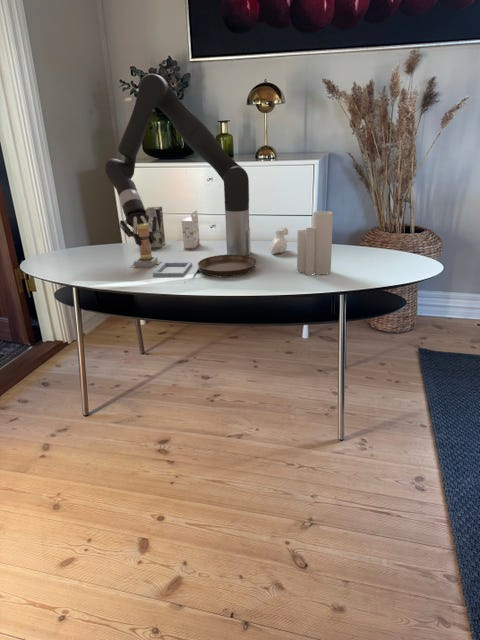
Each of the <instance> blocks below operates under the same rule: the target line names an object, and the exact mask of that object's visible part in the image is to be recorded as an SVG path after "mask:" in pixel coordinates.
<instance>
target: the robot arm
mask: <svg viewBox="0 0 480 640" xmlns="http://www.w3.org/2000/svg"><path fill="white" fill-rule="evenodd" d="M136 95H137V96H136V97H135V98H136V100H135V103H134V107H133V109H132V110H133V111H132V112H131V115H130V119H129V120H128V123H127V125H126V128H125V130H124V132H123V134H122V137H121V138H120V139H121V140H120V143H119V145H118V147H117V151H118V153H119V154H121V156H124V159H123V160H124V161H123V160H120V159H118V158H110V159H108V160H107V161H106V162H105V166H104V169H105V170H104V171H105V175H106V177H107V178H108V180H109V182H110V183H111V184H112V186H113V187H114V189H115V190H116V193H117V195H118V198H119V204H120V206H121V208H122V211H123V215H124V216H125V220H120V221H119V227H120V229H122V231H123V232H124V233H125V235H126V236H127V237H128V238H131V237H132V238H133V239H134V240H133V241H134V242H135V245H137V246H138V247H139V246H141V240H140V238H139V235H138V232H137V224H141V223H147V224H148V221H150V223H151V224H152V229H151V228H150V226H149V224H148V226H149V236H150V243H151V244H153V242H154V240H155V238H154V235H153V234H155V233H156V228H157V217H155V216H154V217H153V218H151V217H149V216H148V215H147V214H146V211H145V209H146V208H145V206H144V203H143V201H142V198H141V195H140V194H139V192H138V189H137V187H136V184H135V182H134V181H133V180H132V179H133V177H134V173H135V169H136V168H135V167H136V161H137V155H138V153H139V152H140V151H139V150H140V149H141V145H143V144H142V143H143V141H144V138H145V136H146V135H145V134H146V131H147V127H148V124H149V121H150V119H151V116H152V114H153V112H154V110H155V108H158V109H159V110H160V111H161V112H162V113H163V114H164V115H165V116H166V117H167V118H168V120H169V121H170V122H171V124H172V126H173V127H174V129H175V131H176V132H177V134H178V135H179V136H180V137H181V139H182V140H183V141H184V142H185V143H186V144H187V146H189V148H190V149H191V150H192V151H193V152H194V153H195V154H196V155H198V156H199V157H200V158H201V159H203V160H204V162H206V163H207V164H209V165H210V166H211V167H212V169H214V172H216V173H217V174H218V176H219V177H220V178H221V180H222V182H223V193H224V215H225V216H224V217H225V219H224V220H225V237H226V238H225V240H226V255H244V256H250V253H251V251H252V249H251V248H252V247H251V228H250V185H249V184H250V180H249V176H248V173H247V171H246V170H245V169H244V168H243V167H242V166H241V165H239V164H238V163H237V162H236V161H235V160H234V159H233V158H232V157H231V156H229V154H228V153H227V152H226V151H225V150H224V148H223V146H221V144H220V142H219V141H218V140H217V138H216V137H215V135H214V134H213V133H212V131H211V130H210V129H209V128H208V127H207V126H206V125H205V124H204V123H203V121H201V120H200V119H199V118H198V116H197V115H196V114H194V113H193V112H192V111H191V109H189V108H188V107H187V106H186V105H185V104H184V103H183V102H182V101H181V100H180V99H179V98H178V96H177V94H175V92H174V91H173V90H172V88H171V87H170V85H169V84H168V82H167V80H166V79H165V78H164V77H162V76H161V75H159V74H155V73H148V74H145V75H144V76H143V77H142V78H141V80H140V81H139V86H138V90H137V94H136ZM128 225H129V226H130V227H131V228H132V230H131V228H130V227H129V226H128Z"/></svg>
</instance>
